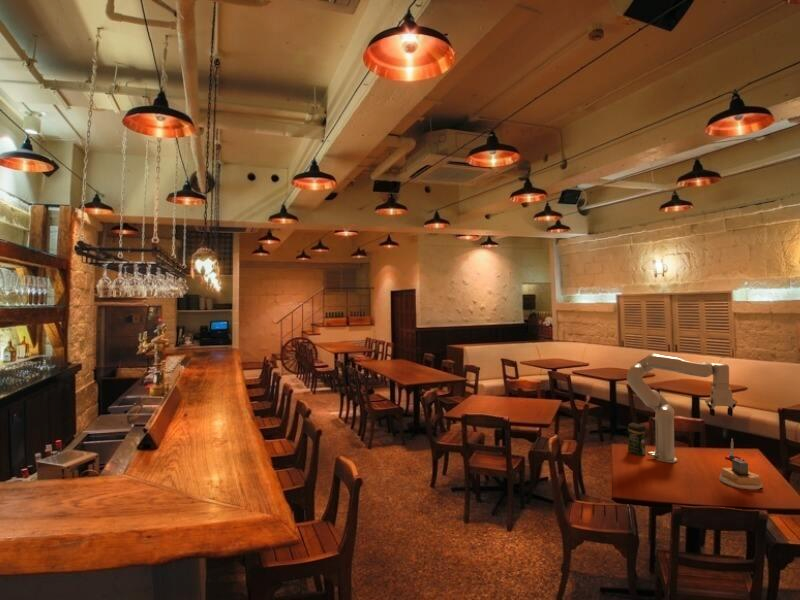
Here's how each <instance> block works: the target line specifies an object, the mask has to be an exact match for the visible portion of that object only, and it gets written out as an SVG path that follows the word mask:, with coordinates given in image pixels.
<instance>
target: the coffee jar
mask: <svg viewBox="0 0 800 600" xmlns="http://www.w3.org/2000/svg"><path fill="white" fill-rule="evenodd" d="M627 432H628V446H627V452H628V451H629V452H628V453H630V452H631V453H630V454H632V453H633V455H635V454H636V456H644V454H645V455H646V453H647V451H646V440H645V439H646V436H645V435H646V432H647V431H646V426H645V425H643V424H640V423H639V424H638V423H634V422H629V423H628V427H627Z"/></svg>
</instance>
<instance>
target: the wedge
mask: <svg viewBox="0 0 800 600" xmlns="http://www.w3.org/2000/svg"><path fill="white" fill-rule="evenodd" d="M731 461H732V462H731V464H732V467H731V468H732V471H733V472H735V473H737V474H738V475H748V471H749V463H748V462H747V461H745V460H744V461H743V460H741V459H739V458H735V459H732V460H731Z"/></svg>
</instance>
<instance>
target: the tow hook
mask: <svg viewBox="0 0 800 600" xmlns="http://www.w3.org/2000/svg"><path fill="white" fill-rule="evenodd" d="M724 458H725V459H726V460H729V461H732V459H739V458H740V459H741V460H744V461H745V459H744V458H743V457H742V456H739V455H735V454H734V438H731V442H730V454H727V455H726V456H725V457H724Z"/></svg>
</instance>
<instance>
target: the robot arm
mask: <svg viewBox="0 0 800 600" xmlns="http://www.w3.org/2000/svg"><path fill="white" fill-rule="evenodd" d="M653 370H662V371H667V372H673V373H678V374H684V375H689V376H694V377H701V378H709V377H711V376H712V383H710V386H711V391H710V396H709V397H710V398H709V397H708V399H706V400H704V403H705V405H706V406H707V407H708V408H709V415H710V416H713V417H715V415H716V414H715V412H716V411H715V408H716V407H727V411H726V412H727V415H728V416H729V417H733V415H734V413H733V412H734V409H735V407H737V404H738V400H736V399H733V398H734V397H733V392H732V388H731V387H730V366H729V365H728V364H726V363H714V362H713V363H712V362H707V361H701V362H698V363H697V362H691V361H688V360H685V359H682V358H679V357H675V356H674V357H673V356H667V355H661V354H659V353H656V352H654V353H650V354H647V356H645V357H644V358H642V359H641V360H639V361H637V362H635V363H634V364H632V365H631V366H630V368H629V369H628V372H627V374H626V381H627V384H628V386H629V388H631V390H632V391H633V392H634V393H635V394H636V395H637V397H638V398H639V399H640V400H641V401H642V402H643V403H644V405H645V406H646V407H648V408H651V409H652V410H653V411H654V412H655V417H654V418H655V419H654V420H655V449H654V450H653V451H647V452H646V453H647V455H648V456H651V457H652V458H653V459H654V460H655V459H656V460H655V461H658V462H662V463H667V464H668V463H671V464H673V463H677V462H678V458H677V457H676V456H675V410H674V408H673V406H672V405H671V404H670V402H668V401H667V400H666V399H665V397H663V396H662V394H661V393H660V392H659V391H657V390H655V389H652V388H650V386H649V385H648V384H647V383H646V382H645V381H644V380H643V377H644V376H645V375H646V374H648V373H650V372H651V371H653Z"/></svg>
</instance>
